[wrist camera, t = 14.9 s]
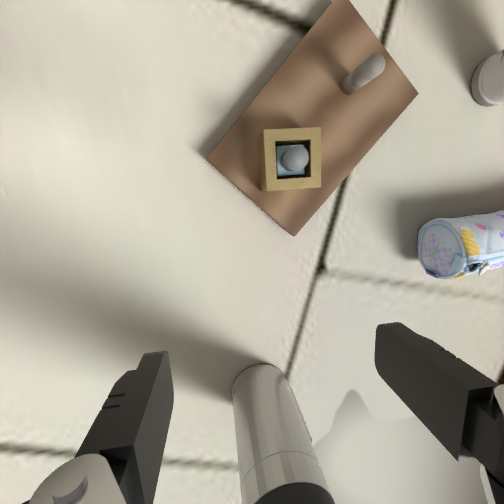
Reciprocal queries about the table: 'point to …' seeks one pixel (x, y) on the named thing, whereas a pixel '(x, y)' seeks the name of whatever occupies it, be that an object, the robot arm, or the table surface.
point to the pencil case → (462, 245)
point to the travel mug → (489, 80)
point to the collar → (285, 138)
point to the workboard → (319, 111)
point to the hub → (291, 160)
